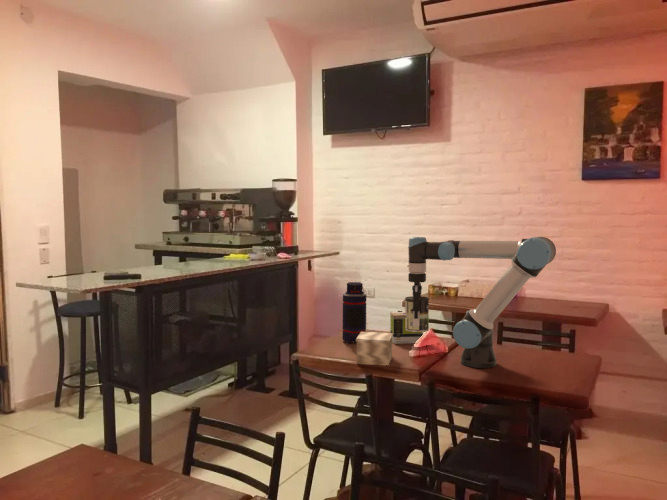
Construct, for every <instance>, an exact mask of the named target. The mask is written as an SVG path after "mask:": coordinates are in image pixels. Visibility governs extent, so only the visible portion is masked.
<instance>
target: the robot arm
mask: <svg viewBox="0 0 667 500" xmlns="http://www.w3.org/2000/svg"><path fill="white" fill-rule="evenodd" d="M556 247H557V246H555V243H554V242H553V241H552V240H551V239H550V238H549V237H546V236H535V237H534V236H533V237H529V238H521V239H520V240H454V239H453V240H446V241H445V240H444V241H427V238H426V237H425V236H411V237H409V239H408V247H407V249H408V264H407V265H406V267H407V268H408V272H409V273H408V274H407V275H408V276H407V277H408V282H410V283H413V285H412V289H411V290H412V296H413V309H411V311H413V326H419V314H420V311H419V298H420V296H422V289H423V285H422V284H421V283H425V282H426V281H427V274H426V272H427V260H435V261H436V260H437V261H452V260H453V258H454V259H486V260H487V259H488V260H490V259H492V260H493V259H495V260H511V261H510V262H511V265H510V266H509V267H508V269H507V270H506V271H505V272H504V273H503V274H502V276H501V277H500V278H499V279H498V280H497V282H495V284H494V285H493V287H492V288H491V289H490V291H489V292H487V294H486V295H485V296H484V298H483V299H482V300H481V302H480V303H479V304H478V305H477V306H476V308H471V309H469V310H467V311H466V312H465V315H464V317H463V318H462V319H461V320H460V321H458V322H456V324H455V325H454V327H453V330H452V335H453V339H454V340H455V343H456V344H457V345H459V347H461V348H463V350H462V353H461V356H460V364H462V365H463V366H466V367H468V368H469V367H470V368H474V369H490V368H491V369H492V368H495V367H496V366H497V357H496V354H495V351H494V345H493V344H494V322H495V320H496V319H497V318H498V317H499V315H500V314H501V313H502V312H503V311H504V310H505V309H506V307H507V306H508V305H509V304H510V302H511V301H512V300H513V299H514V297H515V296H517V294H518V293H519V292H520V291H521V289H522V288H523V287H524V286H525V285H526V283H527V282H528V281H529V280H530V279H532V278H536V277H538V276H539V274H540V273H541V272H542V271H543V270H544V268H545V267H546V266H548V264H550V263H551V262H553V260H554V259H555V257H556V254H557V248H556Z"/></svg>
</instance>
